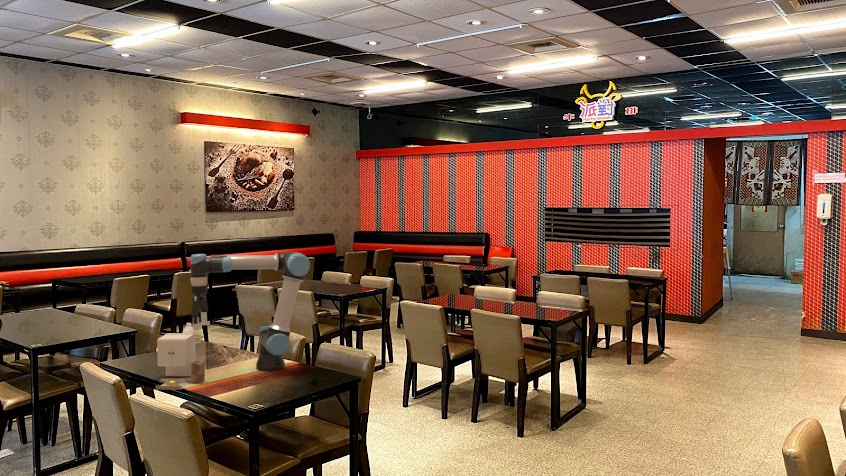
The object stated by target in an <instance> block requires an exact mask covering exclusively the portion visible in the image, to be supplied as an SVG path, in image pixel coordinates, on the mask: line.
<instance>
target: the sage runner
mask: <svg viewBox="0 0 846 476" xmlns="http://www.w3.org/2000/svg"><path fill="white" fill-rule="evenodd" d="M169 379H191V377H187V378H186V377H182V378H180V377H178V378H177V377H175V378H174V377H171V378H169ZM188 384H189V383H179V385H178V386H166V382H163V383H162V384H160V385H156V386H155V390H156V391H157V390H162V391H163V390H167V391H170V390H173V391H174V390H176V391H177V390H181V391H182V389H184V388H185V387H186V386H187V385H188Z"/></svg>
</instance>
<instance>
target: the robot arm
mask: <svg viewBox="0 0 846 476" xmlns="http://www.w3.org/2000/svg"><path fill="white" fill-rule="evenodd" d="M310 268H311V262H310V260H309V258H308V257H307V256H306V255H305V254H303V253H301V252H297V251H288V252H275V254H261V255H260V254H258V255H257V254H256V255H255V254H253V255H252V254H249V255H247V254H245V255H244V254H243V255H242V254H240V255H239V254H238V255H237V254H235V255H232V254H231V255H230V254H229V255H219V254H212V255H211V256H209V257H208V256H207V254H205V253H196V254H191V256H190V279H189V281H190V282H191V284H190V285H191V286H190V287H191V290H190V291H191V294H193V295H194V296H193V297H192V306H191V315H190V318H192V327H193V330H195V331H200V324H201V326H208V315H207V314H208V313H209V307H208V301H207V293H208V274H211V273H228V272H231V271H232V270H237V271H238V270H274V271H276V272H282V275H281V276H282V278H283V283H282V286H281V290H280V294H279V298H278V302H277V304H276V305H277V306H276V309H275V314H274V318H273V320H272V324H270V325H263V326H260V327H259V329H258V330H259V331H258V334H259V335H258V336H259V337H258V338H259V345H258V347H259V349H258V350H259V353H258V358H257V361H256V363H255V369H256V370H258V371H262V372H274V371H281V370H282V368H283V369H285V366H286V364H285V360H284V356H283V354H285V353H287V351H288V350H289V349H290V344H291V343H290V341H291V340H290V336H291V328H290V323H291V320H292V315H293V313H294V308H295V305H296V302H297V298H298V294H299V290H300V289H299V288H300V286H301V283H303V282H304V281H305V278H306V274H308V272H309V270H310ZM200 311H201V312H200ZM199 315H200V316H199ZM200 322H201V323H200Z"/></svg>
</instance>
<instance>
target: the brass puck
mask: <svg viewBox="0 0 846 476" xmlns="http://www.w3.org/2000/svg"><path fill="white" fill-rule="evenodd" d="M169 379H170V378H169ZM165 382H166V386H178V385H179V380H178V379H170V380H166V381H165ZM165 382H164V383H165Z"/></svg>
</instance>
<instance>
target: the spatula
mask: <svg viewBox="0 0 846 476" xmlns="http://www.w3.org/2000/svg"><path fill="white" fill-rule="evenodd" d="M205 365H206V361H197V360H195V361H194V362H193V363H192V364H191V376H190V378H191V379H178V380H179V383H188V384H192V385H198V384H199V385H201V384H203V383H204V382H205V376H206V375H205V371H206V369H205V367H206V366H205ZM166 380H170V378H163V377H162V378H160V379H159V381H158V382H159V383H165V381H166Z"/></svg>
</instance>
